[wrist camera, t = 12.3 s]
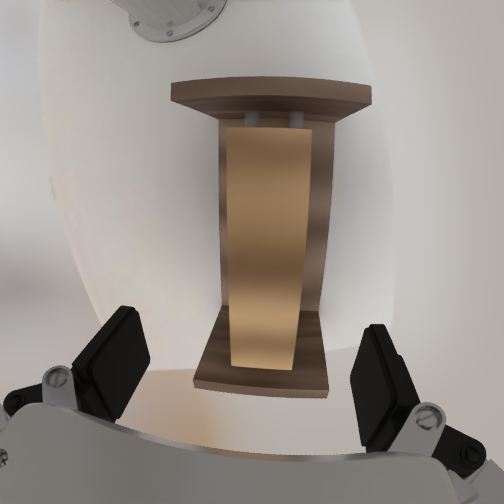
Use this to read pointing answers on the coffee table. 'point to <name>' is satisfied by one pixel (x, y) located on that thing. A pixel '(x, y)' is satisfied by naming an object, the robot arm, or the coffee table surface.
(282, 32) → the coffee table surface
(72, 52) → the coffee table surface
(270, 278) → the shelf board
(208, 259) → the coffee table surface
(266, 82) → the shelf frame
